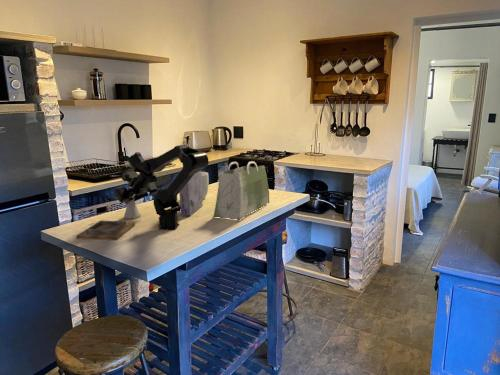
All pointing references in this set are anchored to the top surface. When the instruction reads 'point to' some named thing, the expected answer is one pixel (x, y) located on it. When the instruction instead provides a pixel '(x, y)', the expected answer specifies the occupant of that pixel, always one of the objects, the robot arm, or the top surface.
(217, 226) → the top surface
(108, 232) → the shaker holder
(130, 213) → the flask
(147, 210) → the top surface
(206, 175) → the mug
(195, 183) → the cake pan box
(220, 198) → the grocery bag
